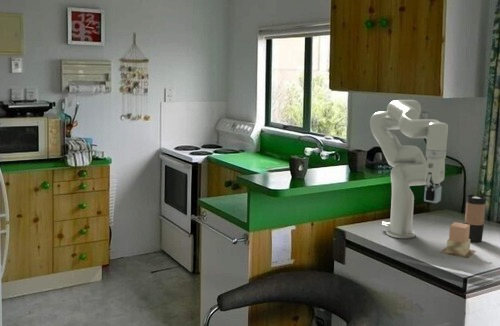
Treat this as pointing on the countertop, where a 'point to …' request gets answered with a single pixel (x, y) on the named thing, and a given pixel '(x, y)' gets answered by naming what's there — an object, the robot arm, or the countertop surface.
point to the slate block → (437, 194)
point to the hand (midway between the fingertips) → (432, 198)
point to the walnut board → (457, 254)
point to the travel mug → (475, 217)
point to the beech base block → (458, 247)
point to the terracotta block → (459, 232)
